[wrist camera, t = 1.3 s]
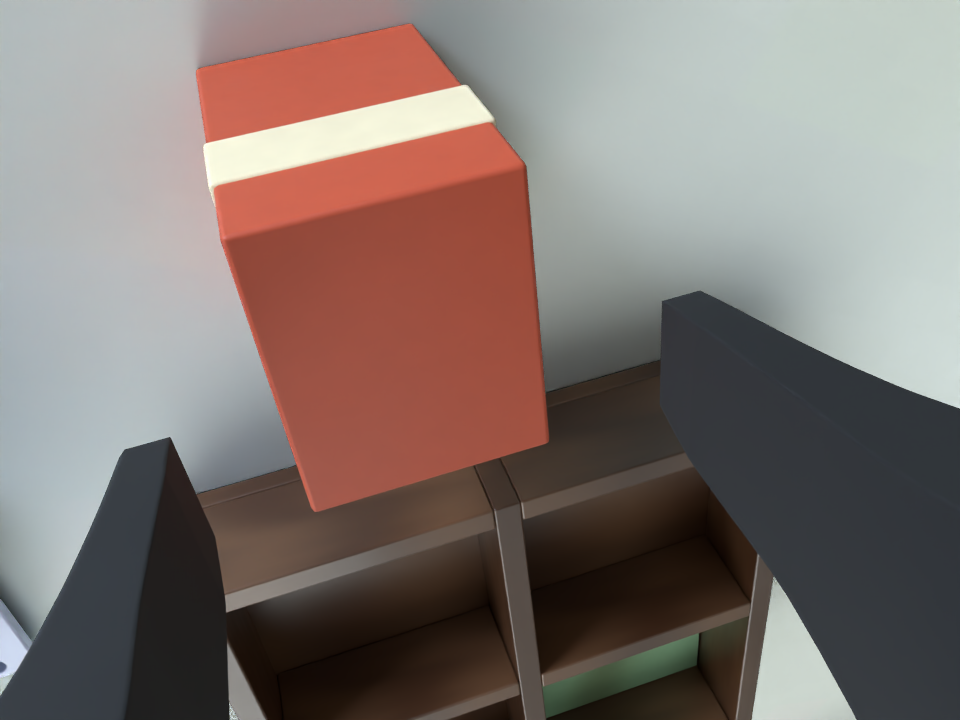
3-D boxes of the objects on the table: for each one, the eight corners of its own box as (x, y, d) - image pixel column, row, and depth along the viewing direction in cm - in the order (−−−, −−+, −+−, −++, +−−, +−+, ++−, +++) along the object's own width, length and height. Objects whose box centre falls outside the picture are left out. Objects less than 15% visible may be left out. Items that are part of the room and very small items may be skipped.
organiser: (312, 790, 34) (328, 889, 31) (173, 500, 23) (178, 608, 21) (703, 653, 36) (750, 733, 33) (729, 339, 26) (799, 416, 23)
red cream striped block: (266, 304, 21) (311, 518, 16) (190, 65, 17) (214, 236, 12) (451, 257, 22) (554, 445, 16) (415, 18, 18) (531, 159, 13)
